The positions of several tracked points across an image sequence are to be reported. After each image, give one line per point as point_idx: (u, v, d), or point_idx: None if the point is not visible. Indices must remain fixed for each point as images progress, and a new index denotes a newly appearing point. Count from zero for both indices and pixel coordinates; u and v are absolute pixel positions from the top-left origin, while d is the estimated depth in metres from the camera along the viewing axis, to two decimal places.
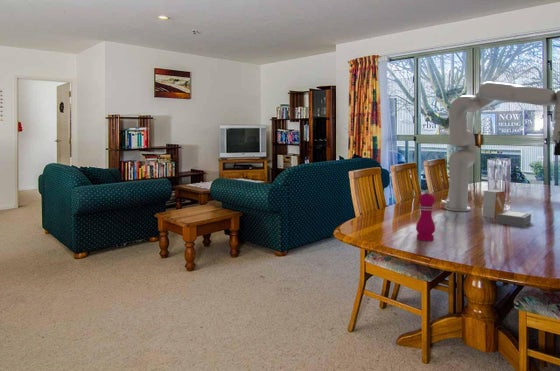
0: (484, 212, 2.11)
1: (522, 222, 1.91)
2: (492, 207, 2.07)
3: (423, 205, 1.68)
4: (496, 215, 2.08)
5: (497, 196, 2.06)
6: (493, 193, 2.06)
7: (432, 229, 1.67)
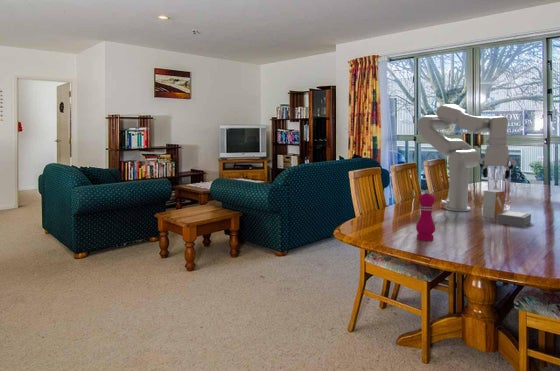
0: (484, 212, 2.11)
1: (522, 222, 1.91)
2: (492, 207, 2.07)
3: (423, 205, 1.68)
4: (496, 215, 2.08)
5: (497, 196, 2.06)
6: (493, 193, 2.06)
7: (432, 229, 1.67)
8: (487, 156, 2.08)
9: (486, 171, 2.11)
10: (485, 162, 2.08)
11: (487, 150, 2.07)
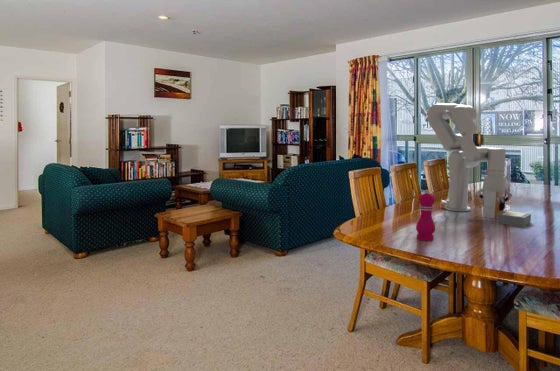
0: (484, 212, 2.11)
1: (522, 222, 1.91)
2: (493, 207, 2.07)
3: (423, 205, 1.68)
4: (496, 215, 2.08)
5: (497, 196, 2.06)
6: (493, 193, 2.06)
7: (432, 229, 1.67)
8: (485, 187, 2.10)
9: None
10: (483, 192, 2.11)
11: (485, 181, 2.10)
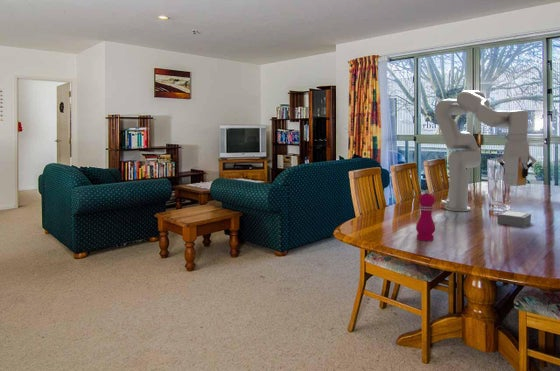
0: (506, 180, 1.96)
1: (522, 222, 1.91)
2: (515, 173, 1.92)
3: (423, 205, 1.68)
4: (519, 183, 1.93)
5: (520, 162, 1.91)
6: (516, 158, 1.92)
7: (432, 229, 1.67)
8: (506, 153, 1.95)
9: None
10: (504, 159, 1.96)
11: (506, 146, 1.95)
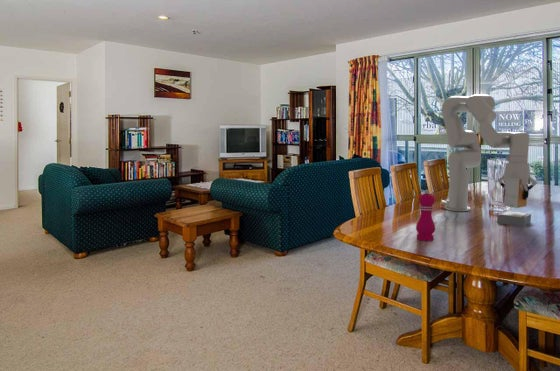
0: (506, 201, 1.96)
1: (522, 222, 1.91)
2: (515, 195, 1.92)
3: (423, 205, 1.68)
4: (519, 204, 1.93)
5: (520, 184, 1.91)
6: (516, 180, 1.92)
7: (432, 229, 1.67)
8: (507, 174, 1.95)
9: None
10: (504, 180, 1.96)
11: (507, 167, 1.95)
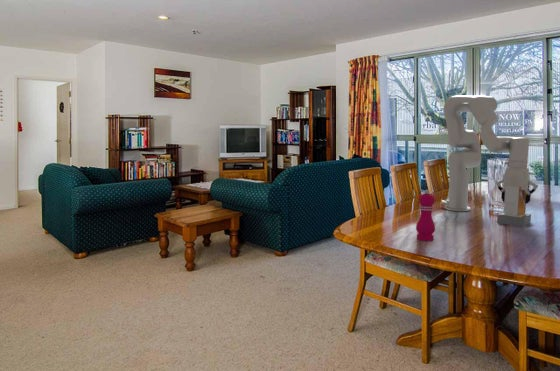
0: (506, 209, 1.97)
1: (522, 222, 1.91)
2: (515, 203, 1.93)
3: (423, 205, 1.68)
4: (519, 212, 1.94)
5: (520, 191, 1.92)
6: (516, 188, 1.92)
7: (432, 229, 1.67)
8: (506, 179, 1.96)
9: None
10: (504, 185, 1.97)
11: (506, 172, 1.96)
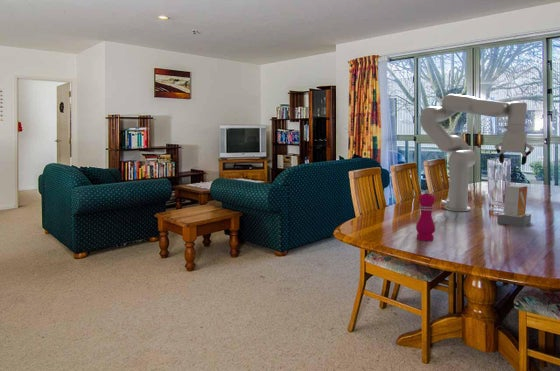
0: (506, 209, 1.97)
1: (522, 222, 1.91)
2: (515, 203, 1.93)
3: (423, 205, 1.68)
4: (519, 212, 1.94)
5: (520, 191, 1.92)
6: (516, 188, 1.92)
7: (432, 229, 1.67)
8: (504, 142, 2.07)
9: (502, 157, 2.10)
10: (502, 147, 2.08)
11: (504, 135, 2.07)
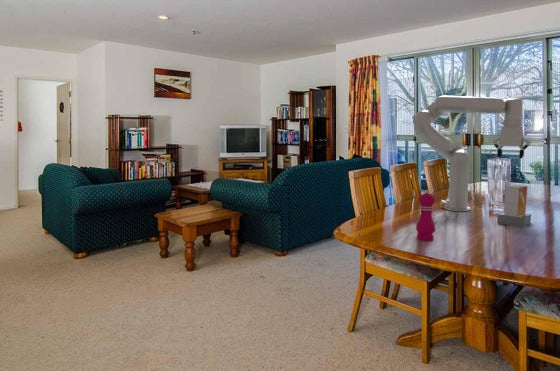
0: (506, 209, 1.97)
1: (522, 222, 1.91)
2: (515, 203, 1.93)
3: (423, 205, 1.68)
4: (519, 212, 1.94)
5: (520, 191, 1.92)
6: (516, 188, 1.92)
7: (432, 229, 1.67)
8: (502, 137, 2.16)
9: (501, 151, 2.20)
10: (500, 142, 2.17)
11: (502, 131, 2.16)
